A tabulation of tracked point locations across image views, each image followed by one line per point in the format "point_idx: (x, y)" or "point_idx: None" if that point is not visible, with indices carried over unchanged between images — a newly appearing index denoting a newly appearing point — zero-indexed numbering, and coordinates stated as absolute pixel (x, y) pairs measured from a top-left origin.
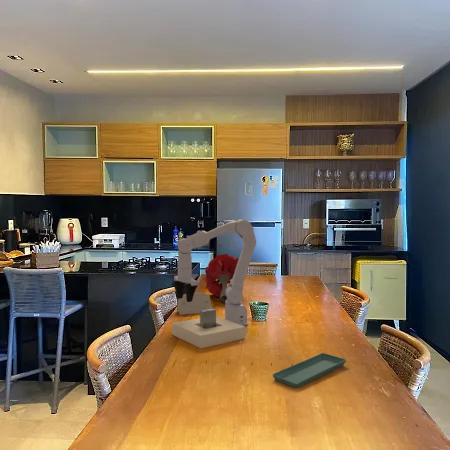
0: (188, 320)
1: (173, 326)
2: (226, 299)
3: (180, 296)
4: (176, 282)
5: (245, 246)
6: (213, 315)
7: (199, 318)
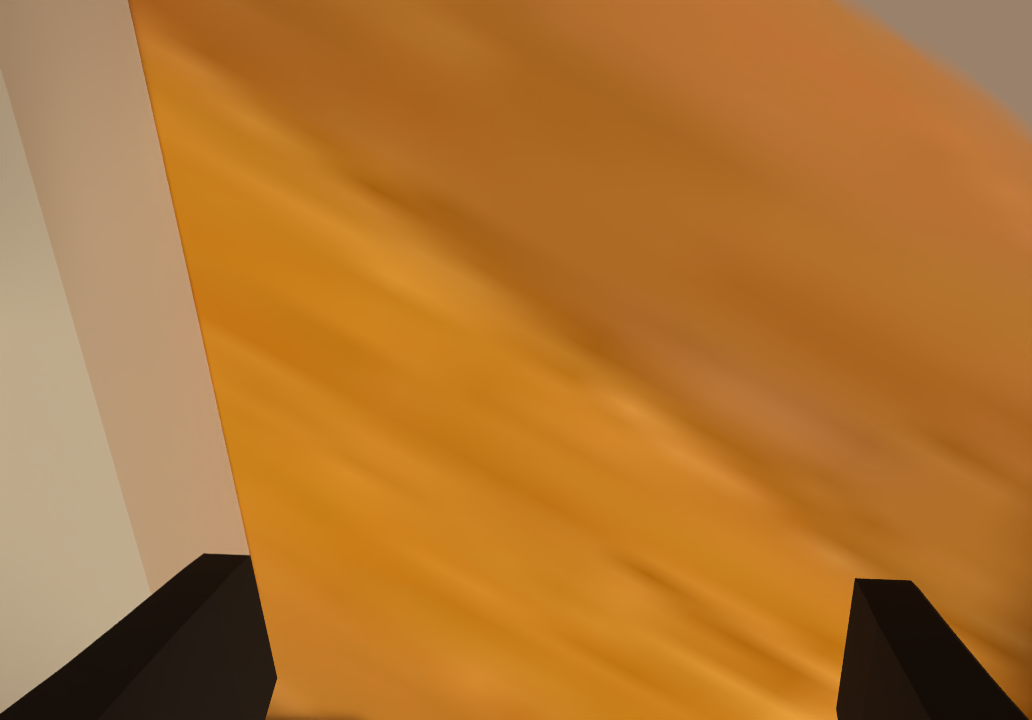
0: (6, 176)
1: None
2: None
3: (858, 707)
4: None
5: None
6: None
7: (92, 441)
